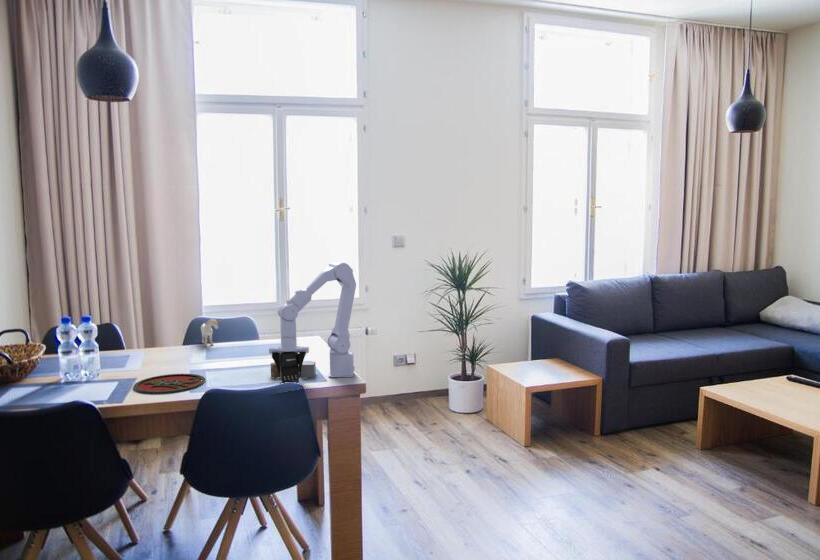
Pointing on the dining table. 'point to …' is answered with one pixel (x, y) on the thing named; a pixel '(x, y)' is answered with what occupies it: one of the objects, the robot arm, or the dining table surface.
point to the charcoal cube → (308, 369)
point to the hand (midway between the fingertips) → (289, 371)
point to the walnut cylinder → (274, 371)
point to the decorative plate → (169, 383)
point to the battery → (289, 366)
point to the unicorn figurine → (208, 330)
